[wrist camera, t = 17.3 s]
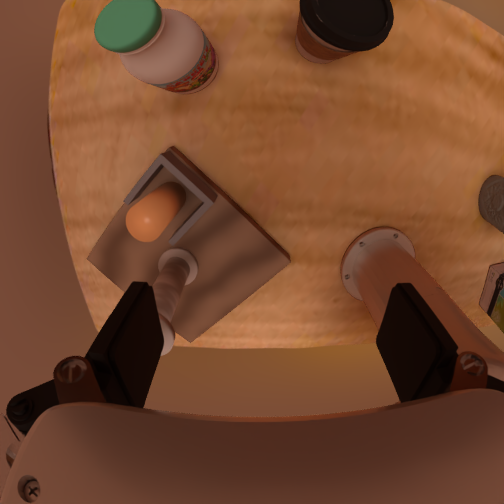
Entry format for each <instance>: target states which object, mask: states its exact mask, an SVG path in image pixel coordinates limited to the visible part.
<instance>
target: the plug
mask: <svg viewBox="0 0 504 504" xmlns="http://www.w3.org/2000/svg"><path fill="white" fill-rule="evenodd" d="M185 202H186V192H185V190H184V188H183V187H182V186H181V185H180V184H179V183H177V182H173V181H169V182H165V183H163V184H162V185H161V186H159V187H158V188H156V189H155V190H154V191H152V192H151V193H150V194H148V195H147V196H146V197H144V198H143V199H142V200H140V201H139V202H138V203H136V204H135V205H134V206H132V207H131V208H130V209H129V211H128V212H127V215H126V226H127V229H128V231H129V233H130V234H131V235H132V236H133V237H134V238H135V239H137V240H139V241H142V242H151V241H154V240H156V239H157V238H158V237H159V236H160V235H161V233H162V232H163V231H164V230H165V228H166V227H167V226H168V224H169V223H170V222H171V221H172V219H173V218H174V217H175V216H176V214H177V213H178V212H179V211H180V209H181V208H182V207H183V206H184V204H185Z"/></svg>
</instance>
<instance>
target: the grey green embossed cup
mask: <svg viewBox="0 0 504 504" xmlns="http://www.w3.org/2000/svg"><path fill="white" fill-rule="evenodd" d="M479 210H480V213H481V215H482V217H483V218H484V219H485V220H486V221H488V222H489V223H491V224H492V225H494V226H495V227H496V228H497V229H498V230H499V231H501V232H503V234H504V178H503V177H501V176H497V175H494V176H491V177H489V178H488V179H487V180H486V181H485V182H484V184H483V186H482V188H481V191H480V194H479Z"/></svg>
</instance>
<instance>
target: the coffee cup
mask: <svg viewBox="0 0 504 504" xmlns="http://www.w3.org/2000/svg"><path fill="white" fill-rule="evenodd" d="M393 19H394V15H393V8H392V4H391V2H390V0H300V13H299V20H298V27H297V34H296V39H295V40H296V47H297V49H298V51H299V52H300V54H301V55H302V56H303V57H304V58H306V59H307V60H309V61H311V62H314V63H320V64H322V63H328V62H331V61H333V60H336V59H339V58H342V57H345V56H348V55H350V54H353V53H356V52H359V51H366V50H370V49H373V48H375V47H377V46H378V45H380V44H381V43H382V42H384V40H385V39H386V38H387V36H388V34H389V32H390V30H391V28H392V25H393Z"/></svg>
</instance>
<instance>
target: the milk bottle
mask: <svg viewBox="0 0 504 504" xmlns="http://www.w3.org/2000/svg"><path fill="white" fill-rule="evenodd" d="M94 33H95V37H96V40H97V41H98V43H99V44H100V45H101V46H102V47H104V48H106V49H108V50H110V51H113V52H115V53H118V54H120V58H121V61H122V63H123V65H124V67H125V68H126V69H127V70H128V72H129V73H130V74H132V75H133V76H134V77H136V78H137V79H139V80H141V81H143V82H146V83H148V84H151V85H154V86H157V87H160V88H163V89H166V90H169V91H172V92H175V93H180V94H190V93H195V92H197V91H200V90H202V89H203V88H205V87H206V86H207V85H209V84H210V83H211V81H212V80H213V79H214V77H215V75H216V73H217V70H218V58H217V55H216V52H215V50H214V49H213V47H212V45H211V43H210V42H209V40H208V39H207V37H206V35H205V34H204V32H203V31H202V29H201V28H200V27H199V26H198V24H197V23H196V22H195V21H194V20H193V19H192V18H190V17H189V16H188V15H186V14H184V13H182V12H179V11H176V10H172V9H162V8H161V7H160V6H159V5H158V4H157V2H156V1H155V0H113V1H111V2H110V3H109V4H108V5H107V6H106V7H105V8H104V9H103V10H102V11H101V13H100V14H99V16H98V18H97V20H96V23H95V29H94Z"/></svg>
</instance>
